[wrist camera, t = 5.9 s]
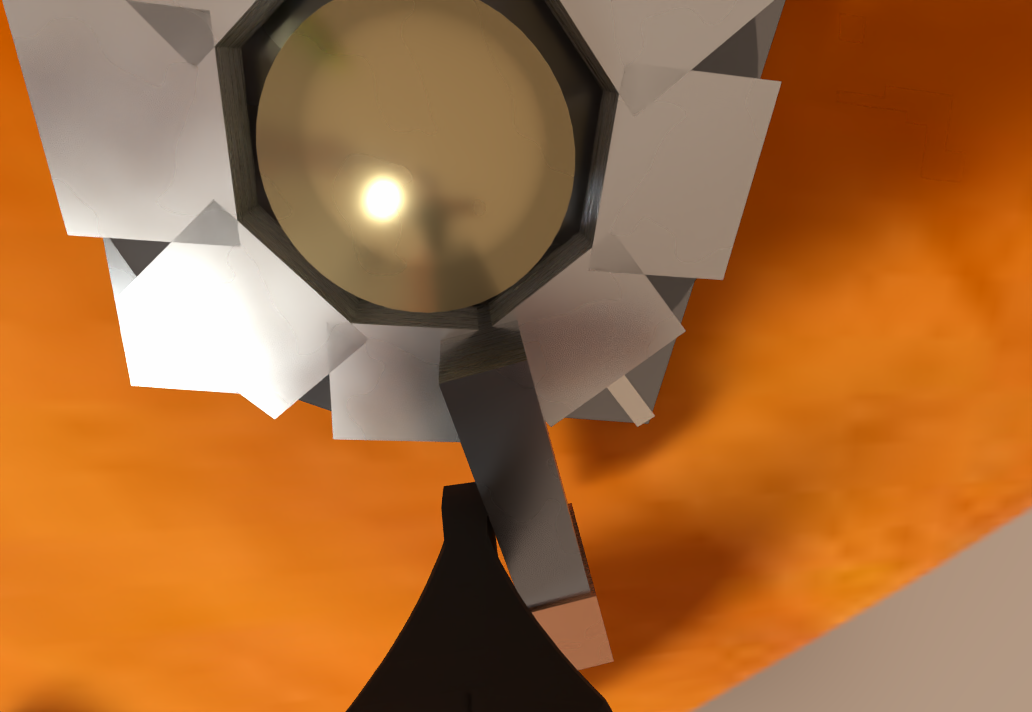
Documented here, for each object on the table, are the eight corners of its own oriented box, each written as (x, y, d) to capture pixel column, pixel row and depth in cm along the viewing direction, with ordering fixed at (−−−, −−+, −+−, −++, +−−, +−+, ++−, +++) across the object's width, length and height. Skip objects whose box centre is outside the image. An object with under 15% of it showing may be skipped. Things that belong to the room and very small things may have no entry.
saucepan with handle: (545, 591, 17) (562, 690, 14) (-82, 101, 9) (-294, 117, 7) (915, 360, 14) (1022, 429, 11) (448, -606, 6) (445, -1058, 4)
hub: (143, 375, 15) (24, 496, 10) (-3, -439, 8) (-451, -929, 4) (643, 413, 17) (704, 525, 13) (837, -199, 10) (1079, -363, 6)
